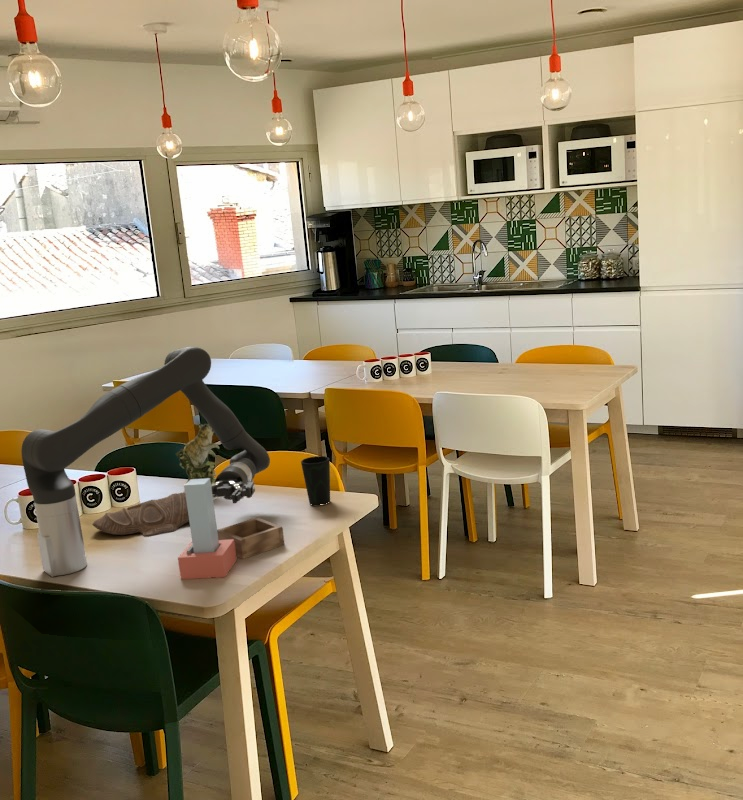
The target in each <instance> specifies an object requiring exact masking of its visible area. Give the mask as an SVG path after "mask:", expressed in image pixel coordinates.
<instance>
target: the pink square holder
mask: <svg viewBox="0 0 743 800" xmlns="http://www.w3.org/2000/svg"><path fill="white" fill-rule="evenodd" d="M237 560H238V559H237V556H236V550H235V543H234V539H230V540H219V548H218V549H217V550H216V552H209V553H194V551H193V543H192V541H191V542H190V543H189V544H188V545H187V546H186V548H185V549H183V551H182V552H181V554H180V555H178V557H177V561H178V566H179V567H178V569H179V576H180V579H181V580H191V579H211V577H216V578H226V576H227V575H228V574H229V572H230V571H231V569H232V568H233V566H234V565H235V563H236V562H237ZM229 570H230V571H229Z"/></svg>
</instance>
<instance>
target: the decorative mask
mask: <svg viewBox="0 0 743 800" xmlns="http://www.w3.org/2000/svg"><path fill="white" fill-rule="evenodd" d="M187 523H190V522H189V515H188V508H187V501H186V494H185V492H183V491H182V492H178V493H177V492H176V493H172V494H170V495H168V496H166V497H161V498H158V499H150V500H146V501H143V502H140V503H137V504H134V505H131V506H127V508H125V507H122V509H121V510H118V511H115V512H105V514H104V515H102V517H100V518H97V519H95V520H94V521H93V522H92V526H93V527H94V528H96V529H97V530H99V531H101V532H103V533H106V534H111V535H119V536H120V535H131V534H136V533H140V534H142V537H146V538H147V537H148V538H149V537H152V536H153V537H154V536H158V535H163V534H168V533H175V532H176V531H177V530H179V529H180V527H182V526H184V524H187Z"/></svg>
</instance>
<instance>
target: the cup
mask: <svg viewBox="0 0 743 800" xmlns="http://www.w3.org/2000/svg"><path fill="white" fill-rule="evenodd" d="M330 459H331V458H329V457H328V456H324V455H317V456H310V457H306V458H303V459H302V460H301V461H300V463H301V469H302V473H303V478H304V483H305V487H306V493H307V497H308V502H309V505H310V504H312V505H320V504H326V503H328V502H330V503H331V474H330V473H331V470H330V469H331V465H330V464H331V462H330V461H331V460H330Z"/></svg>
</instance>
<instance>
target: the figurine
mask: <svg viewBox="0 0 743 800" xmlns="http://www.w3.org/2000/svg"><path fill="white" fill-rule="evenodd" d="M197 426H198V428H199V430H198V433H197V435H196V436H195V437H194V438H193V439H192V440H190V441H188V442H187V443H186V444H185V446H184V448H180V449H179V450H178V451H177V452H175V455H176V457H177V459H178V460H179V466H180V467H181V468H182V469H183V470H185V472H186V475H187V476H188V479H187V481H186V482H184V484H183V491H182V493H183V492H185V487H184V485H185V484H186V483H187V482H188V481H189V480H190V479H205V478H210V481H211V485H212V484H214V482H215V480H216V477H217V476H218V475H217V473H216V471H215V469H214V468H216V467H215V465H216V462H214V461H210V460H207V461H206V458H208V455H211V456H212V457H213V458H215V457H216V456H217V455H216V453H215V452H214V451H213V450H212V449H213V448H214V449H218V450H220V446H219V445H218V444H217V443H216V442H212V441H213V436H214V431H213V430H212V428H211V427H210V425H209V424H208V423H204V424H202V423H199V424H198V425H197ZM205 461H206V462H205Z"/></svg>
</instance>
